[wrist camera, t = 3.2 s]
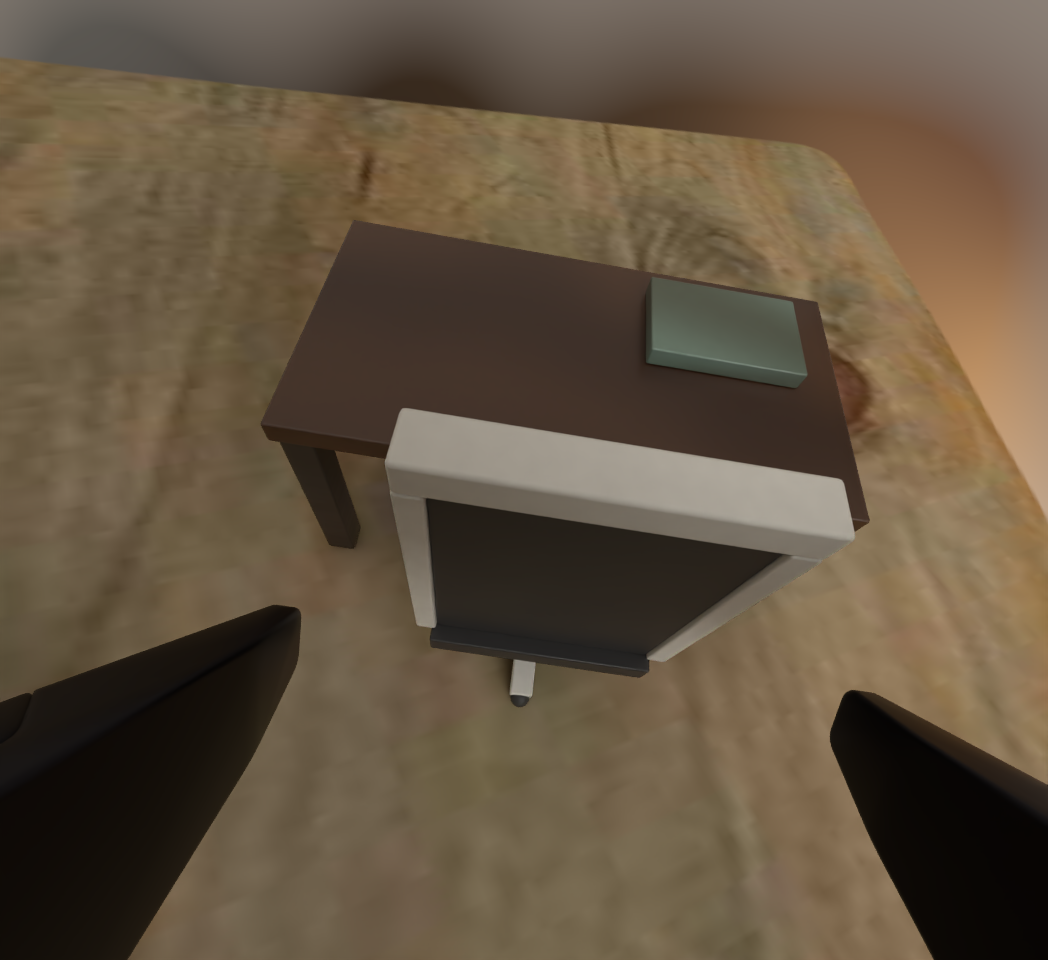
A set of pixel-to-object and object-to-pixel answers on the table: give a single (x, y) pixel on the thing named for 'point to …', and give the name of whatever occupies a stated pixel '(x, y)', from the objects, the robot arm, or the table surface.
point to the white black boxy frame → (592, 542)
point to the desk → (550, 362)
